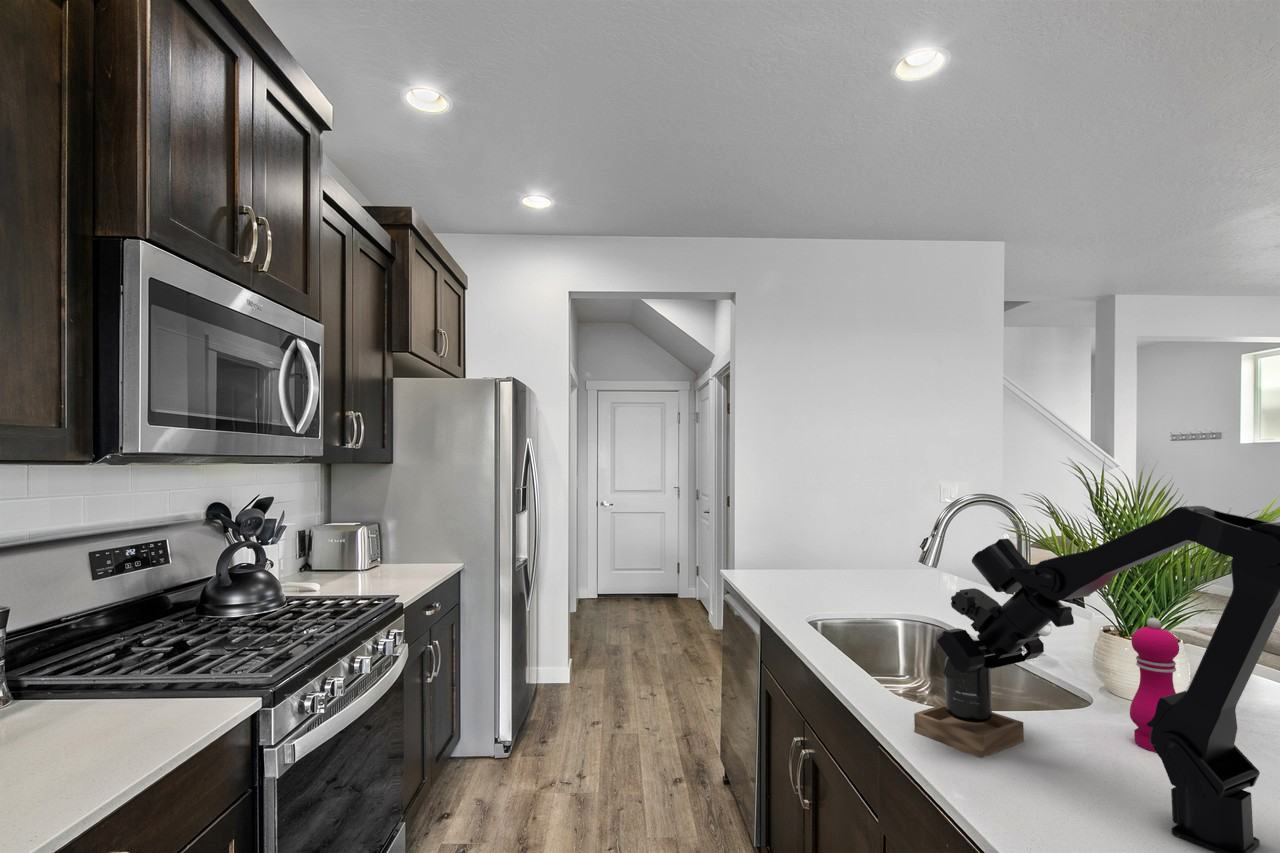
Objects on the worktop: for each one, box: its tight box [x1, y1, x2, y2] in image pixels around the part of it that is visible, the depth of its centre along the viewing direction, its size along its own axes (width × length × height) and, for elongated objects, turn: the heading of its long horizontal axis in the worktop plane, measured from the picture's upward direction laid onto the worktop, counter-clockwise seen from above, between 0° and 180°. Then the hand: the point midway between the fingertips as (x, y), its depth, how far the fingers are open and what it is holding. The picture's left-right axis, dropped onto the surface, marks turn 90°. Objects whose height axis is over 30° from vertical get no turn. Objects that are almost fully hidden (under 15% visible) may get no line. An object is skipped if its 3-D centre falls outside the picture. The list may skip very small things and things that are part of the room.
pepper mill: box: [1129, 617, 1180, 753], centre depth 105 cm, size 7×7×20 cm
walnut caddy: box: [913, 703, 1025, 759], centre depth 108 cm, size 12×12×3 cm
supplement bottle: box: [944, 638, 993, 723], centre depth 109 cm, size 7×7×12 cm
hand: (960, 672), depth 110 cm, fingers closed on supplement bottle, 7 cm apart
